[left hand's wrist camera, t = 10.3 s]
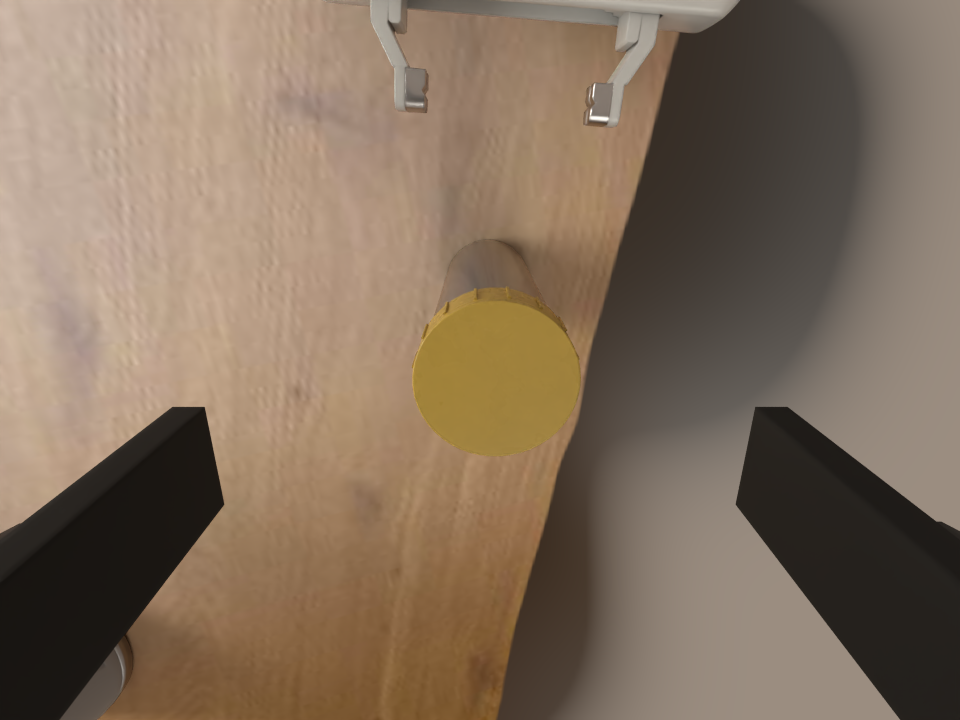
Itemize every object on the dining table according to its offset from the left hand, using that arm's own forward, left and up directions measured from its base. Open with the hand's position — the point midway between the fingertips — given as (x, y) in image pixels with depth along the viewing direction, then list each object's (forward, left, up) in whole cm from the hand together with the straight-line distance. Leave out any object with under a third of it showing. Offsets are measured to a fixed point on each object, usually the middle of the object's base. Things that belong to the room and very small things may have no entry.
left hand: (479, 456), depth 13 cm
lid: (0, -1, -6) cm, 6 cm away
